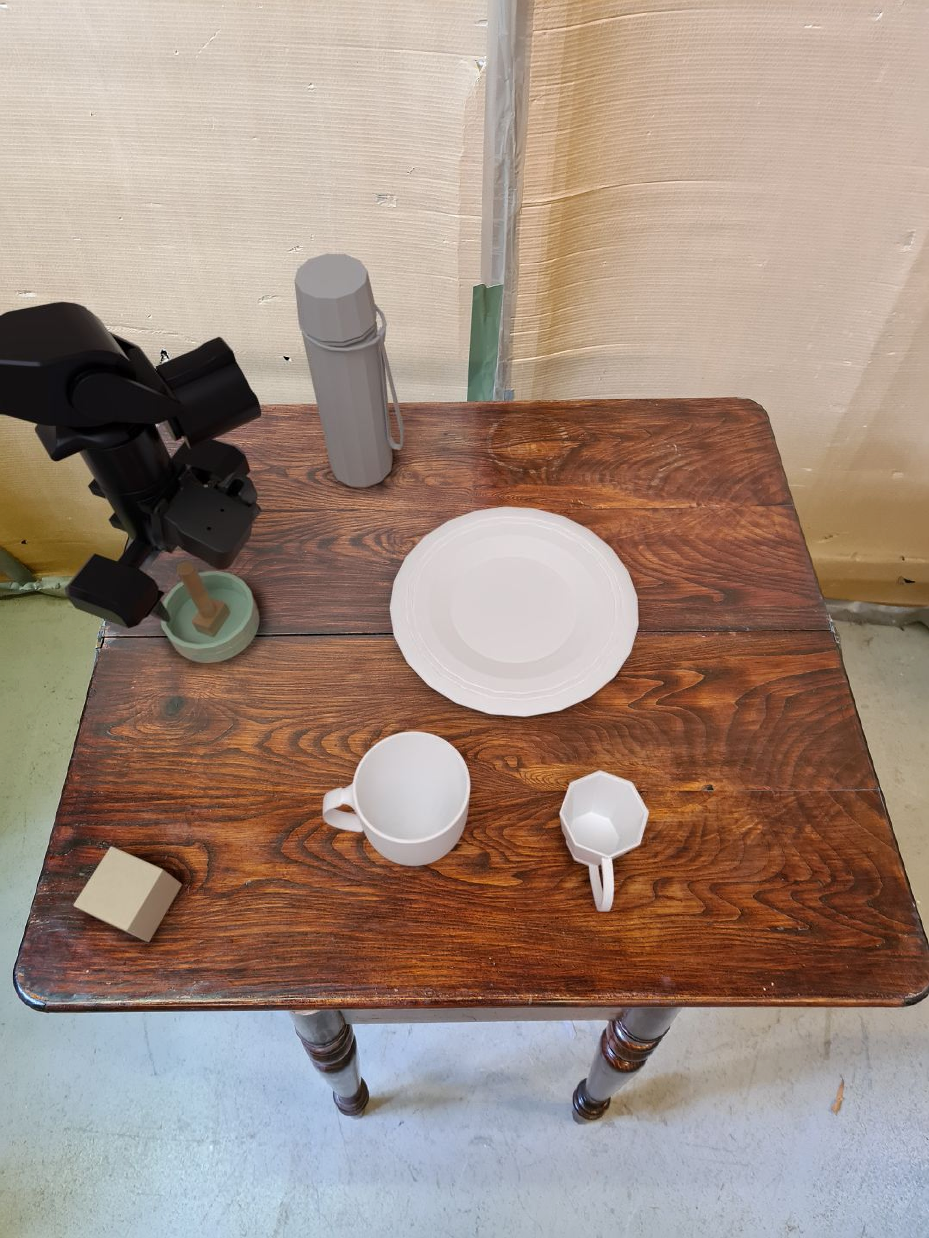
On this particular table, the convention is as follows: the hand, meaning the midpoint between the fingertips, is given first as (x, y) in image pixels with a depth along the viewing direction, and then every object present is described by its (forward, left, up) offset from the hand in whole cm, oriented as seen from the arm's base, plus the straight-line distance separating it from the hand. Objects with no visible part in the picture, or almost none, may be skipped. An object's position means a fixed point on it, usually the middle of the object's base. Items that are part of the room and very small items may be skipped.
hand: (192, 580), depth 74 cm
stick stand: (+9, -26, -8) cm, 28 cm away
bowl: (0, 0, -8) cm, 8 cm away
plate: (+28, +13, -8) cm, 31 cm away
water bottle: (+6, +25, -8) cm, 27 cm away
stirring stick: (0, 0, -7) cm, 7 cm away
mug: (+27, -12, -8) cm, 30 cm away
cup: (+43, -8, -8) cm, 44 cm away
